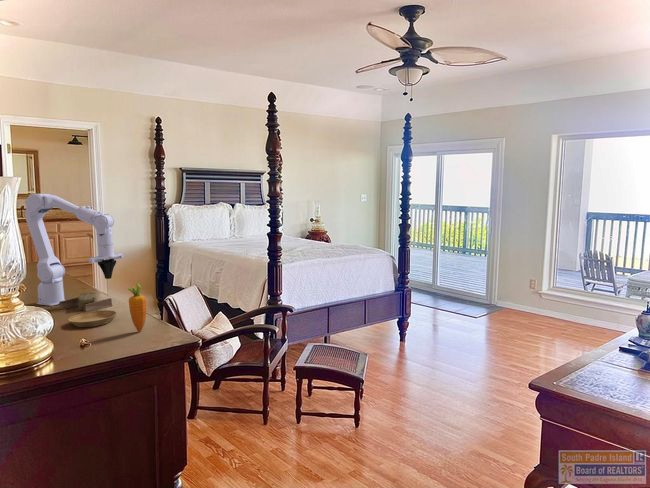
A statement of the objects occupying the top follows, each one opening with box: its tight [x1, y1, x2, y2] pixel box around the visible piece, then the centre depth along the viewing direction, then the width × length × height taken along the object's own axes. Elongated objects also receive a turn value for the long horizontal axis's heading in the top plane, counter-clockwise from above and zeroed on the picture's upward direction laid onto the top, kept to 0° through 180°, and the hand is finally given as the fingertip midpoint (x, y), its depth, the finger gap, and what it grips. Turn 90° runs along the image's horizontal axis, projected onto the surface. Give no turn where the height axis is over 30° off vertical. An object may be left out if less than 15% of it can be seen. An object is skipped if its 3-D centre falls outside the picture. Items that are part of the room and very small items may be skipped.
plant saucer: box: [67, 309, 118, 328], centre depth 160 cm, size 15×15×3 cm
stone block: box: [78, 292, 98, 311], centre depth 182 cm, size 6×12×5 cm, turn 24°
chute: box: [58, 296, 113, 313], centre depth 182 cm, size 15×11×3 cm
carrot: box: [127, 282, 147, 333], centre depth 146 cm, size 5×5×15 cm
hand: (108, 278), depth 190 cm, fingers closed
